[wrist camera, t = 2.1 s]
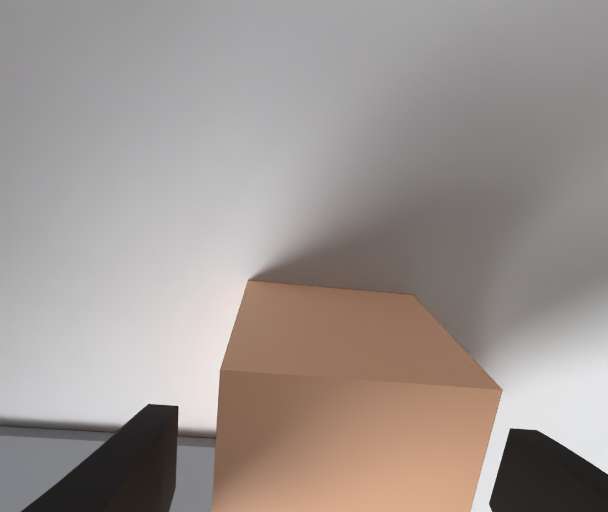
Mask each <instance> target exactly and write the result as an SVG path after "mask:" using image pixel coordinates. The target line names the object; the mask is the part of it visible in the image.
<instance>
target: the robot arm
mask: <svg viewBox="0 0 608 512" xmlns="http://www.w3.org/2000/svg"><path fill="white" fill-rule="evenodd" d="M177 435H178V406H169V405H154V404H148V405H147V406H146V407H144V408H143V409H142V410H141V411H140V412H139V413H137V414H136V415H135V416H134V417H133V418H132V419H131V420H129V421H128V422H127V423H126V424H125V425H124V426H123V427H122V428H120V429H119V430H118V431H117V432H116V433H115V434H114V435H113V436H111V437H110V438H109V439H108V440H107V441H106V442H105V443H103V444H102V445H101V446H100V447H99V448H98V449H97V450H95V451H94V452H93V453H92V454H91V455H89V456H88V457H87V458H86V459H85V460H84V461H82V462H81V463H80V464H79V465H78V466H76V467H75V468H74V469H73V470H72V471H70V472H69V473H68V474H67V475H66V476H65V477H63V478H62V479H61V480H60V481H59V482H57V483H56V484H55V485H54V486H52V487H51V488H50V489H49V490H48V491H46V492H45V493H44V494H42V495H41V496H40V497H39V498H37V499H36V500H35V501H33V502H32V503H31V504H30V505H28V506H27V507H26V508H25V509H23V510H22V511H21V512H169V510H170V507H171V503H172V499H173V496H174V492H175V488H176V466H177ZM489 505H490V507H491V510H492V512H608V474H606V473H605V472H603V471H602V470H600V469H599V468H597V467H596V466H594V465H593V464H591V463H589V462H588V461H586V460H585V459H583V458H582V457H580V456H579V455H577V454H576V453H574V452H572V451H571V450H569V449H568V448H566V447H564V446H563V445H561V444H560V443H558V442H556V441H555V440H553V439H551V438H550V437H548V436H546V435H544V434H543V433H541V432H539V431H537V430H525V429H511V428H510V431H509V435H508V438H507V442H506V445H505V449H504V452H503V456H502V460H501V463H500V467H499V470H498V474H497V477H496V481H495V485H494V488H493V492H492V495H491V499H490V502H489Z"/></svg>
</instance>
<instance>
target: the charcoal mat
mask: <svg viewBox="0 0 608 512" xmlns="http://www.w3.org/2000/svg"><path fill="white" fill-rule="evenodd" d="M114 434H115V433H110V432H93V431H76V430H59V429H41V428H24V427H7V426H0V512H21V511H22V510H23V509H25V508H26V507H27V506H28V505H30V504H31V503H32V502H33V501H35V500H36V499H37V498H39V497H40V496H41V495H42V494H44V493H45V492H46V491H48V490H49V489H50V488H51V487H52V486H54V485H55V484H56V483H57V482H59V481H60V480H61V479H62V478H63V477H65V476H66V475H67V474H68V473H69V472H70V471H72V470H73V469H74V468H75V467H76V466H78V465H79V464H80V463H81V462H82V461H84V460H85V459H86V458H87V457H88V456H89V455H91V454H92V453H93V452H94V451H95V450H97V449H98V448H99V447H100V446H101V445H102V444H103V443H105V442H106V441H107V440H108V439H109V438H110V437H111V436H113V435H114ZM215 445H216V439H213V438H196V437H179V436H177V466H176V488H175V492H174V496H173V499H172V503H171V507H170V510H169V512H211V510H212V494H213V477H214V461H215Z"/></svg>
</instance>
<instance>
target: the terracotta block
mask: <svg viewBox="0 0 608 512" xmlns="http://www.w3.org/2000/svg"><path fill="white" fill-rule="evenodd" d="M501 394H502V389H501V388H500V387H499V386H498V385H497V383H496V382H495V381H494V380H493V379H492V378H491V377H490V376H489V375H488V374H487V373H486V372H485V371H484V370H483V369H482V368H481V366H480V365H479V364H478V363H477V362H476V361H475V360H474V359H473V358H472V357H471V356H470V355H469V354H468V353H467V352H466V351H465V349H464V348H463V347H462V346H461V345H460V344H459V343H458V342H457V341H456V340H455V339H454V338H453V337H452V336H451V335H450V334H449V332H448V331H447V330H446V329H445V328H444V327H443V326H442V325H441V324H440V323H439V322H438V321H437V320H436V319H435V318H434V317H433V315H432V314H431V313H430V312H429V311H428V310H427V309H426V308H425V307H424V306H423V305H422V304H421V303H420V302H419V301H418V299H417V298H416V297H415V296H414V295H409V294H398V293H387V292H375V291H364V290H353V289H341V288H330V287H319V286H308V285H296V284H285V283H274V282H263V281H251V280H248V282H247V285H246V289H245V292H244V295H243V298H242V301H241V305H240V308H239V311H238V314H237V317H236V321H235V324H234V327H233V330H232V333H231V337H230V340H229V343H228V346H227V349H226V353H225V356H224V359H223V362H222V365H221V369H220V381H219V397H218V413H217V429H216V445H215V461H214V477H213V494H212V510H211V512H470V511H471V507H472V503H473V499H474V496H475V492H476V488H477V484H478V481H479V477H480V473H481V469H482V466H483V462H484V458H485V454H486V450H487V447H488V443H489V439H490V435H491V432H492V428H493V424H494V420H495V417H496V413H497V409H498V405H499V402H500V398H501Z"/></svg>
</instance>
